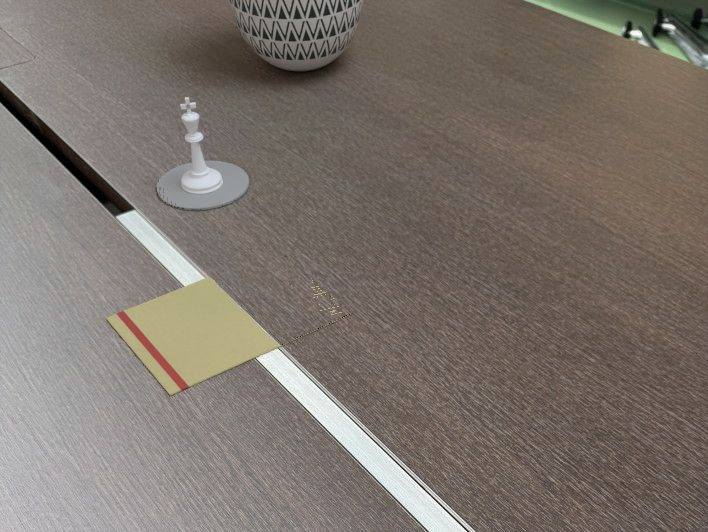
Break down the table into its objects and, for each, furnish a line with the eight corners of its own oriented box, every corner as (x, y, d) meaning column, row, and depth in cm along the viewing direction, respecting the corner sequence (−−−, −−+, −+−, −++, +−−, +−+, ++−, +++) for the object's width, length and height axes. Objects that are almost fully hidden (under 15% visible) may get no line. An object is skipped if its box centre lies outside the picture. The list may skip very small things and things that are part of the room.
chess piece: (224, 191, 99) (211, 105, 91) (182, 196, 98) (165, 110, 90) (221, 170, 102) (207, 86, 94) (180, 175, 101) (163, 90, 93)
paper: (170, 396, 76) (170, 394, 76) (106, 319, 84) (105, 317, 83) (351, 314, 84) (351, 313, 83) (277, 250, 91) (277, 249, 91)
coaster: (183, 221, 95) (182, 218, 95) (140, 181, 101) (140, 178, 101) (266, 190, 99) (266, 188, 99) (221, 153, 105) (220, 151, 105)
